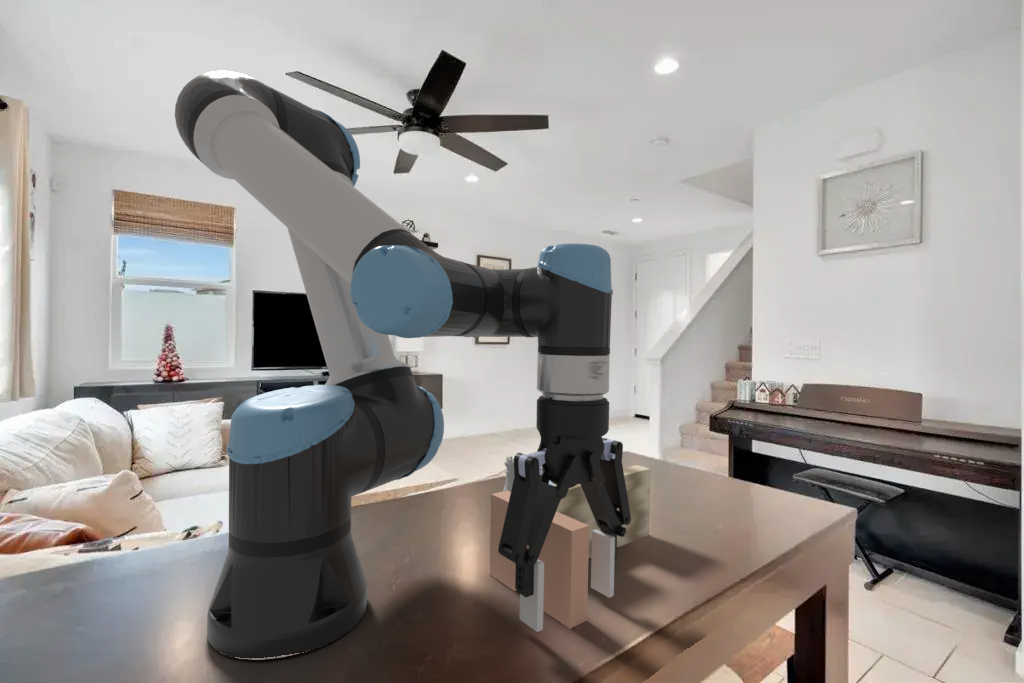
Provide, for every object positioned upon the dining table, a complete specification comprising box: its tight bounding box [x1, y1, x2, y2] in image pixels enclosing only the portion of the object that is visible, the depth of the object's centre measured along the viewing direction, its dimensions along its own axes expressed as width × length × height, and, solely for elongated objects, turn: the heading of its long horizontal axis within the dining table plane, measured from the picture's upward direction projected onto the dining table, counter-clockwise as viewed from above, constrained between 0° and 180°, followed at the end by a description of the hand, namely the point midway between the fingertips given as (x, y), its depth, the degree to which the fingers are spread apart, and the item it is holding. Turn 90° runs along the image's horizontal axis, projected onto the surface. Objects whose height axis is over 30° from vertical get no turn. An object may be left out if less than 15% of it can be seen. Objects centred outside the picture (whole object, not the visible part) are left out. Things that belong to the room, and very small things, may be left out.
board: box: [551, 464, 652, 560], centre depth 69 cm, size 20×2×10 cm, turn 128°
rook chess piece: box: [502, 456, 514, 492], centre depth 87 cm, size 4×4×8 cm
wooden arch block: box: [489, 491, 589, 630], centre depth 56 cm, size 14×2×10 cm, turn 38°
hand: (568, 606), depth 52 cm, fingers open, 10 cm apart
